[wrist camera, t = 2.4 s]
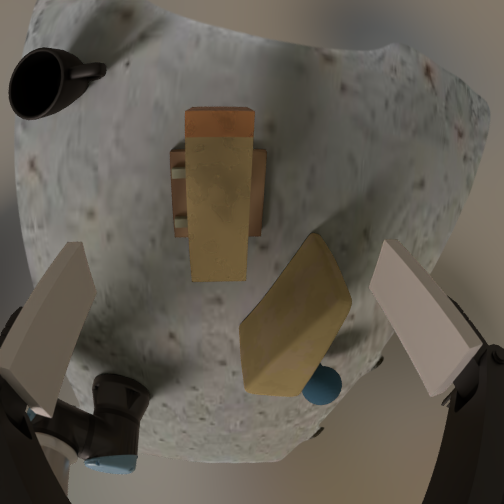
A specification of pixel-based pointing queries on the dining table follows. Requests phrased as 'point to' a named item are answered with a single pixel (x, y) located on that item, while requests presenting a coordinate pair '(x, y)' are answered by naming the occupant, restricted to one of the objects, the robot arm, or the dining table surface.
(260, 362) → the cheese
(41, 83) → the mug
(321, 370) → the light bulb
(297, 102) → the dining table surface
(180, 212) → the wooden base plate
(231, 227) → the two-tone wooden block
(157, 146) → the dining table surface
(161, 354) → the dining table surface
